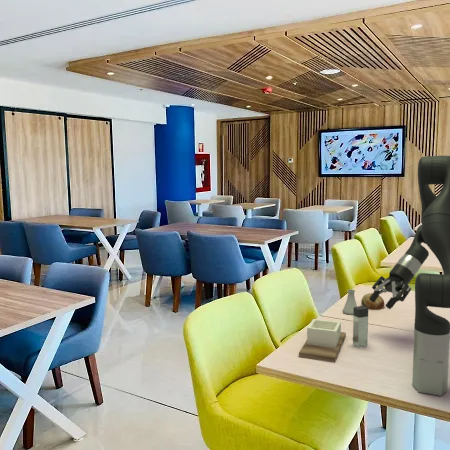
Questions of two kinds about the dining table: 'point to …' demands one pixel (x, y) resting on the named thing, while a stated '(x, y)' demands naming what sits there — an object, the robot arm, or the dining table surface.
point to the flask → (350, 303)
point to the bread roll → (372, 305)
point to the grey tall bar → (360, 327)
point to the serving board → (322, 351)
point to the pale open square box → (324, 333)
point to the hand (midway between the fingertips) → (379, 304)
